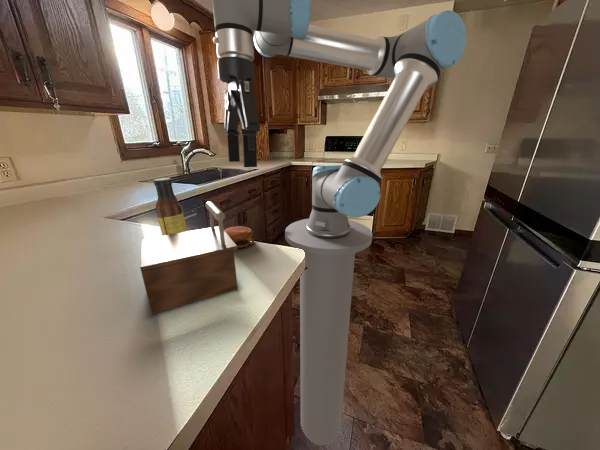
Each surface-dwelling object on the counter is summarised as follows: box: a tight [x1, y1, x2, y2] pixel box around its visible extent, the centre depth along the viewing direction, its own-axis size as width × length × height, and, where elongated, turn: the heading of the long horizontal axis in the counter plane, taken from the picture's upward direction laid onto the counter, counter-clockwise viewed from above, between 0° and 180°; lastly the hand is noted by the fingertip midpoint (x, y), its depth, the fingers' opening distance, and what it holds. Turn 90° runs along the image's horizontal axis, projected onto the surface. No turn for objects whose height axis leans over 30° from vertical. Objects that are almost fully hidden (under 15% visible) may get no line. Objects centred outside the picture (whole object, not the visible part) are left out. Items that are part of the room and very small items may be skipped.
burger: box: [224, 225, 254, 249], centre depth 72 cm, size 10×9×5 cm
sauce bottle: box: [153, 177, 188, 236], centre depth 66 cm, size 6×6×20 cm
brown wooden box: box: [140, 250, 239, 315], centre depth 51 cm, size 16×14×9 cm
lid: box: [139, 200, 239, 272], centre depth 49 cm, size 16×14×8 cm
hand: (241, 164), depth 58 cm, fingers open, 13 cm apart
